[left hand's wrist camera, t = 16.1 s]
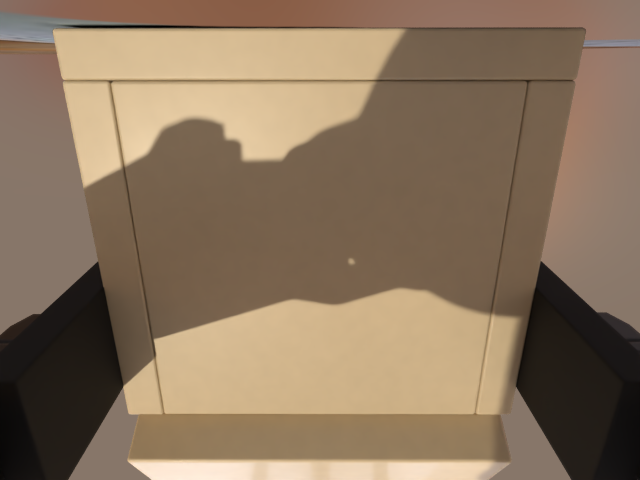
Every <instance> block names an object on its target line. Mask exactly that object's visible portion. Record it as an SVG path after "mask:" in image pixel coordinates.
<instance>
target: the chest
mask: <svg viewBox="0 0 640 480" xmlns="http://www.w3.org/2000/svg"><path fill="white" fill-rule="evenodd" d="M585 33H586V29H584V28H55V29H53V36H54V41H55V46H56V51H57V56H58V61H59V66H60V71H61V76H62V78H63V79H64V80H66V81H64V82H63V87H64V92H65V97H66V102H67V107H68V112H69V117H70V122H71V127H72V132H73V137H74V142H75V147H76V152H77V157H78V162H79V167H80V172H81V177H82V182H83V187H84V192H85V197H86V202H87V207H88V212H89V217H90V222H91V227H92V232H93V237H94V242H95V247H96V252H97V257H98V262H99V267H100V272H101V277H102V282H103V287H104V290H105V295H106V300H107V305H108V310H109V315H110V320H111V325H112V330H113V335H114V340H115V345H116V350H117V355H118V360H119V365H120V370H121V375H122V380H123V385H124V386H123V388H124V393H125V398H126V403H127V408H128V413H129V414H163V413H165V414H474V413H475V412H476V414H478V415H509V414H510V413H511V409H512V404H513V399H514V394H515V389H516V384H517V379H518V373H519V368H520V363H521V358H522V353H523V348H524V343H525V338H526V333H527V328H528V323H529V318H530V313H531V307H532V302H533V297H534V292H535V287H536V282H537V277H538V272H539V267H540V262H541V257H542V252H543V246H544V241H545V236H546V231H547V226H548V221H549V216H550V211H551V206H552V201H553V196H554V190H555V185H556V180H557V175H558V170H559V165H560V160H561V155H562V150H563V145H564V140H565V134H566V129H567V125H568V119H569V114H570V109H571V104H572V99H573V94H574V89H575V82H574V81H573V80H574V79H576V78H577V74H578V69H579V64H580V59H581V54H582V49H583V44H584V39H585Z"/></svg>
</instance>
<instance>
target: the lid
mask: <svg viewBox="0 0 640 480" xmlns="http://www.w3.org/2000/svg"><path fill="white" fill-rule="evenodd" d="M511 460H512V459H511V455H510V451H509V447H508V443H507V438H506V434H505V430H504V426H503V422H502V418H501V415H478V414H476V413H474V414H165V413H163V414H139V416H138V419H137V423H136V427H135V432H134V436H133V440H132V443H131V448H130V452H129V456H128V462H129V463H130V464H132V465H133V466H134V467H136V468H137V469H138V470H140V471H141V472H142V473H144V474H145V475H146V476H148V477H149V478H150V479H152V480H489V479H490V478H491V477H493V476H494V475H495V474H496V473H498V472H499V471H501V470H502V469H503V468H504V467H506V466H507V465H508V464H510V463H511Z"/></svg>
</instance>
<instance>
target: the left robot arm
mask: <svg viewBox="0 0 640 480" xmlns="http://www.w3.org/2000/svg"><path fill="white" fill-rule="evenodd" d="M123 386H124V385H123V380H122V375H121V370H120V365H119V360H118V355H117V350H116V345H115V340H114V335H113V330H112V325H111V320H110V315H109V310H108V305H107V300H106V295H105V290H104V287H103V282H102V277H101V272H100V267H99V262H97V263H96V264H95V265H94V266H93V267H92V268H90V269H89V270H88V271H87V272H86V273H85V274H84V275H83V276H82V277H81V278H80V279H79V280H77V281H76V282H75V283H74V284H73V285H72V286H71V287H70V288H69V289H68V290H67V291H66V292H64V293H63V294H62V295H61V296H60V297H59V298H58V299H57V300H56V301H55V302H54V303H52V304H51V305H50V306H49V307H48V308H47V309H46V310H45V311H44V312H43V313H42V314H33V315H31V316H29V317H27V318H25V319H23V320H21V321H20V322H18V323H16V324H14V325H12V326H10V327H9V328H8V329H7V330H6V331H5V332H3V333H2V334H1V335H0V480H68V479H69V477H70V476H71V474H72V472H73V470H74V469H75V467H76V465H77V464H78V462H79V460H80V459H81V457H82V455H83V454H84V452H85V450H86V448H87V447H88V445H89V444H90V442H91V440H92V439H93V437H94V435H95V433H96V432H97V430H98V428H99V427H100V425H101V423H102V422H103V420H104V418H105V417H106V415H107V413H108V412H109V410H110V408H111V407H112V405H113V403H114V401H115V400H116V398H117V397H118V395H119V393H120V391H121V390H122V388H123ZM516 387H517V389H518V391H519V392H520V394H521V396H522V397H523V399H524V401H525V402H526V404H527V406H528V407H529V409H530V411H531V412H532V414H533V416H534V417H535V419H536V421H537V423H538V424H539V426H540V428H541V429H542V431H543V433H544V434H545V436H546V438H547V439H548V441H549V443H550V444H551V446H552V448H553V449H554V451H555V453H556V455H557V456H558V458H559V460H560V461H561V463H562V465H563V466H564V468H565V470H566V471H567V473H568V475H569V476H570V478H571V480H640V333H639V332H637V331H636V330H635V329H634V328H633V327H632V326H630V325H629V324H627V323H625V322H623V321H622V320H620V319H618V318H616V317H614V316H612V315H610V314H608V313H597V312H596V311H595V310H593V309H592V308H591V307H590V306H589V305H588V304H587V303H586V302H585V301H584V300H583V299H582V298H580V297H579V296H578V295H577V294H576V293H575V292H574V291H573V290H572V289H571V288H570V287H569V286H567V285H566V284H565V283H564V282H563V281H562V280H561V279H560V278H559V277H558V276H557V275H556V274H554V273H553V272H552V271H551V270H550V269H549V268H548V267H547V266H546V265H545V264H544V263H543V262H540V267H539V272H538V277H537V282H536V287H535V292H534V297H533V302H532V307H531V313H530V318H529V323H528V328H527V333H526V338H525V343H524V348H523V353H522V358H521V363H520V368H519V373H518V379H517V384H516Z"/></svg>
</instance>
